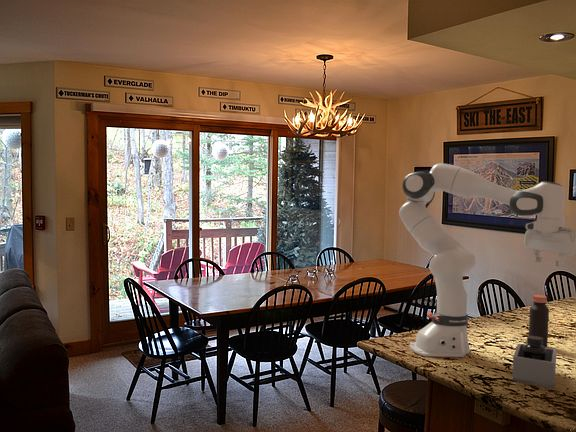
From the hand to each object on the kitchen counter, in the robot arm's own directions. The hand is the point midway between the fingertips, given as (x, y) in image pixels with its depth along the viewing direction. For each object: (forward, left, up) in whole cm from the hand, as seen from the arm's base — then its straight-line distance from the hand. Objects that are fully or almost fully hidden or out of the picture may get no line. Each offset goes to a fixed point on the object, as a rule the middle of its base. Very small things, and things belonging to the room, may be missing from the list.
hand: (548, 264), depth 187 cm
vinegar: (+7, +14, -35) cm, 39 cm away
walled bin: (-15, -16, -35) cm, 41 cm away
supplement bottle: (-15, -16, -34) cm, 41 cm away
